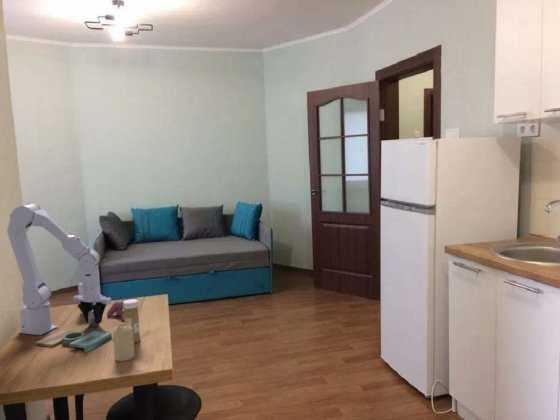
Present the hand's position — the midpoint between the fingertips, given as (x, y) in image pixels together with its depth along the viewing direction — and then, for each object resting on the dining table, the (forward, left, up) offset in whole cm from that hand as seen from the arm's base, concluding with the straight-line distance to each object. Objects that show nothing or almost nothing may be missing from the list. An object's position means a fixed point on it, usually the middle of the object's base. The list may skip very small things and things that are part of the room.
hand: (93, 322), depth 163 cm
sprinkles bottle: (+22, -8, -2) cm, 23 cm away
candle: (+27, -19, -2) cm, 33 cm away
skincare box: (-12, +12, -2) cm, 17 cm away
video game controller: (+3, +11, -2) cm, 12 cm away
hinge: (+3, -13, -1) cm, 13 cm away
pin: (0, 0, -1) cm, 1 cm away
